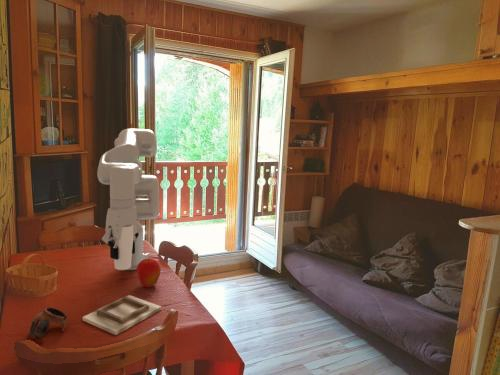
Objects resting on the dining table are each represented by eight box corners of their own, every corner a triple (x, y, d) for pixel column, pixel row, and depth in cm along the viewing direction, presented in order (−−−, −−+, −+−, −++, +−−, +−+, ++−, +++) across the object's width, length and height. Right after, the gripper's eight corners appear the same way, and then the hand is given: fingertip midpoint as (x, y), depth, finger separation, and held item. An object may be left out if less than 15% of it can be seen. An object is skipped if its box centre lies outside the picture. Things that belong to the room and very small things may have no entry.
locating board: (129, 298, 139) (129, 291, 139) (161, 309, 131) (161, 302, 131) (82, 320, 122) (82, 312, 121) (116, 335, 114) (116, 327, 114)
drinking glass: (126, 272, 120) (126, 228, 118) (108, 270, 121) (107, 226, 119) (137, 265, 127) (137, 223, 124) (119, 263, 128) (119, 221, 126)
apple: (164, 284, 152) (164, 256, 151) (150, 292, 144) (150, 263, 142) (147, 279, 156) (147, 252, 154) (131, 287, 148) (131, 258, 146)
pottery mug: (31, 327, 117) (45, 303, 119) (60, 339, 119) (73, 314, 120) (18, 339, 105) (33, 311, 107) (50, 351, 107) (65, 324, 109)
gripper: (134, 198, 130) (134, 247, 133) (92, 205, 115) (93, 260, 118) (150, 201, 126) (149, 251, 129) (108, 209, 111) (109, 265, 114)
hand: (122, 255), depth 123 cm, fingers closed on drinking glass, 6 cm apart
